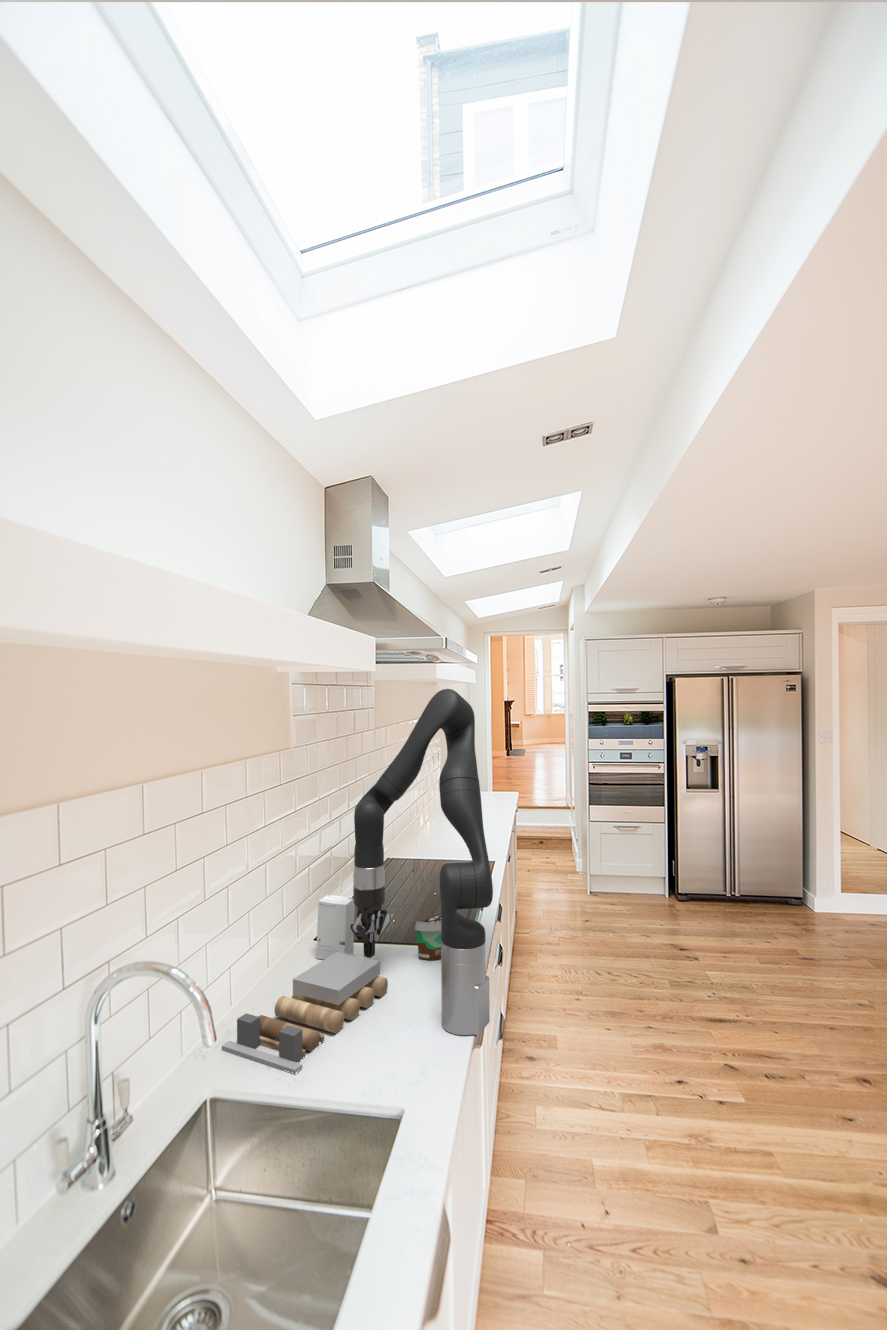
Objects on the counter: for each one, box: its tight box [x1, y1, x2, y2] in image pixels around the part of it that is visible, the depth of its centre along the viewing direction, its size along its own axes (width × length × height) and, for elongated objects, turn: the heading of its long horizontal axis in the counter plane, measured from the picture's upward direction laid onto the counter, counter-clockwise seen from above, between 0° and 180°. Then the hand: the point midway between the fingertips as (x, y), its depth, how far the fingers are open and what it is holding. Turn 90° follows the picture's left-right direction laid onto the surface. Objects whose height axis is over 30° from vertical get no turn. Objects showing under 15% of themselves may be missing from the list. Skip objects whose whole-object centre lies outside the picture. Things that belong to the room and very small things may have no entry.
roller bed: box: [260, 975, 389, 1059], centre depth 143 cm, size 15×30×4 cm, turn 153°
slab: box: [292, 952, 381, 1005], centre depth 148 cm, size 12×16×3 cm
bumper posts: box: [221, 1012, 303, 1073], centre depth 127 cm, size 18×4×6 cm, turn 63°
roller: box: [257, 1014, 320, 1053], centre depth 133 cm, size 14×4×4 cm, turn 63°
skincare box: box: [315, 894, 356, 960], centre depth 173 cm, size 8×6×15 cm
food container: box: [414, 913, 441, 962], centre depth 173 cm, size 12×6×10 cm, turn 143°
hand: (369, 956), depth 160 cm, fingers closed
